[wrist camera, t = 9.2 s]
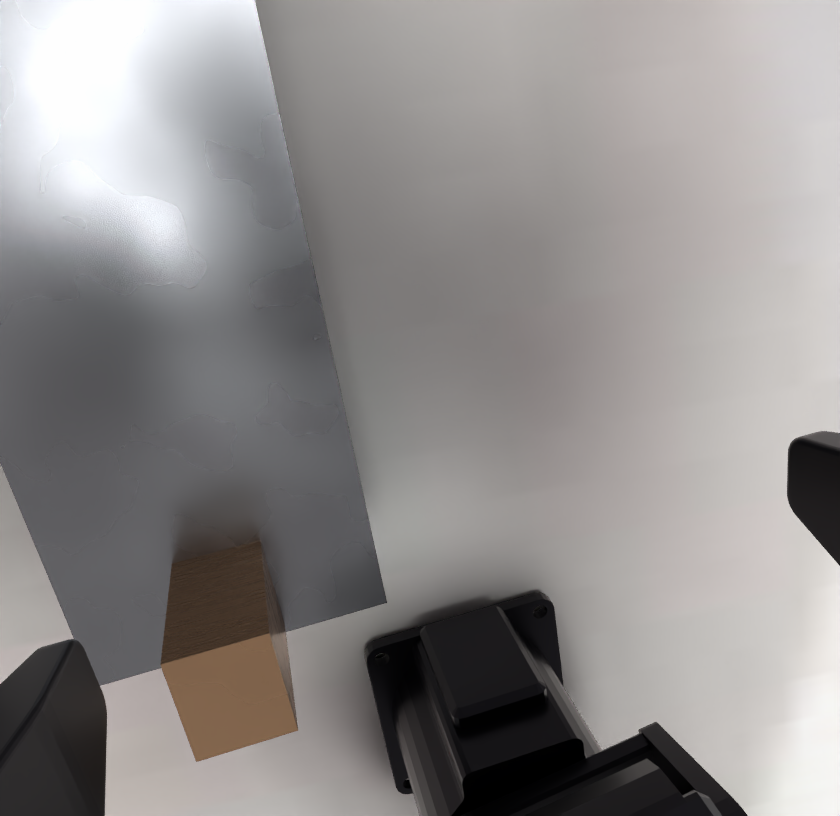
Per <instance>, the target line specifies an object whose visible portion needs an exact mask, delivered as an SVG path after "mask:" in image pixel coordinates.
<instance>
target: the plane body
mask: <svg viewBox="0 0 840 816" xmlns="http://www.w3.org/2000/svg"><path fill="white" fill-rule="evenodd" d="M0 463H1V465H2V467H3V470H4V472H5V475H6V477H7V479H8V482H9V484H10V487H11V489H12V491H13V494H14V496H15V499H16V501H17V503H18V506H19V508H20V510H21V513H22V515H23V518H24V520H25V522H26V525H27V527H28V530H29V532H30V534H31V537H32V539H33V542H34V544H35V546H36V549H37V551H38V553H39V556H40V558H41V561H42V563H43V565H44V568H45V570H46V573H47V575H48V577H49V580H50V582H51V584H52V587H53V589H54V592H55V594H56V596H57V599H58V601H59V604H60V606H61V608H62V611H63V613H64V616H65V618H66V620H67V623H68V625H69V627H70V630H71V632H72V635H73V637H74V639H75V640H77V641H79V642H80V643H81V645H82V646H83V647H84V649H85V652H86V654H87V656H88V659H89V661H90V664H91V666H92V668H93V671H94V673H95V676H96V678H97V681H98V683H99V685H104V684H107V683H111V682H114V681H118V680H121V679H125V678H128V677H131V676H135V675H138V674H142V673H145V672H149V671H152V670H156V669H159V668H162V670H163V673H164V676H165V679H166V681H167V684H168V687H169V689H170V692H171V695H172V697H173V700H174V703H175V706H176V708H177V711H178V714H179V716H180V719H181V722H182V724H183V727H184V730H185V732H186V735H187V738H188V741H189V743H190V746H191V749H192V751H193V754H194V757H195V759H196V762H198V761H201V760H204V759H208V758H211V757H214V756H217V755H220V754H224V753H227V752H230V751H233V750H237V749H240V748H243V747H246V746H249V745H253V744H256V743H259V742H262V741H266V740H269V739H272V738H275V737H278V736H282V735H285V734H288V733H291V732H294V731H298V726H297V718H296V710H295V702H294V694H293V686H292V678H291V671H290V663H289V655H288V647H287V639H286V632H287V631H291V630H294V629H298V628H301V627H305V626H308V625H312V624H315V623H318V622H322V621H325V620H329V619H332V618H336V617H339V616H343V615H346V614H350V613H353V612H357V611H360V610H363V609H367V608H370V607H374V606H377V605H381V604H384V603H387V601H386V596H385V592H384V587H383V582H382V578H381V573H380V569H379V564H378V560H377V555H376V551H375V546H374V541H373V537H372V532H371V528H370V523H369V519H368V514H367V509H366V505H365V500H364V496H363V491H362V487H361V482H360V478H359V473H358V468H357V464H356V459H355V455H354V450H353V446H352V441H351V437H350V432H349V427H348V423H347V418H346V414H345V409H344V405H343V400H342V396H341V391H340V386H339V382H338V377H337V373H336V368H335V364H334V359H333V355H332V350H331V345H330V341H329V336H328V332H327V327H326V323H325V318H324V314H323V309H322V304H321V300H320V295H319V291H318V286H317V282H316V277H315V273H314V268H313V263H312V259H311V254H310V250H309V245H308V241H307V236H306V232H305V227H304V222H303V218H302V213H301V209H300V204H299V200H298V195H297V190H296V186H295V181H294V177H293V172H292V168H291V163H290V159H289V154H288V149H287V145H286V140H285V136H284V131H283V127H282V122H281V118H280V113H279V108H278V104H277V99H276V95H275V90H274V86H273V81H272V77H271V72H270V67H269V63H268V58H267V54H266V49H265V45H264V40H263V36H262V31H261V26H260V22H259V17H258V13H257V8H256V4H255V0H0Z"/></svg>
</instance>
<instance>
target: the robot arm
mask: <svg viewBox="0 0 840 816" xmlns="http://www.w3.org/2000/svg"><path fill="white" fill-rule="evenodd" d="M787 497H788V501H789V504H790V507H791V509H792V510H793V512H794V513H795V515H796V516H797V517H798V518H799V519H800V521H801V522H802V523H803V524H804V525H805V526H806V527H807V529H808V530H809V531H810V532H811V533H812V534H813V536H814V537H815V538H816V539H817V540H818V541H819V542H820V544H821V545H822V546H823V547H824V548H825V549H826V550H827V552H828V553H829V554H830V555H831V556H832V557H833V558H834V560H835V561H836V562H837V563H838V564H839V565H840V433H835V432H827V431H821V432H815V433H812V434H808V435H805V436H801V437H798V438H796V439H794V440H793V441H792V442H791V443H790V446H789V449H788V476H787ZM538 606H542V608H541V609H540V610H538V611H535V612H533V611H534V609H535V608H536V607H538ZM380 653H385V654H386V655H385V656H384V657H382V658H375V657H376V655H378V654H380ZM365 660H366V664H367V669H368V673H369V677H370V681H371V685H372V689H373V693H374V698H375V702H376V706H377V710H378V714H379V718H380V722H381V727H382V731H383V735H384V739H385V743H386V747H387V752H388V756H389V760H390V764H391V768H392V772H393V776H394V780H395V784H396V788H397V790H398V791H399V792H401V793H402V794H411V793H413V794H414V797H415V801H416V804H417V808H418V811H419V815H420V816H747V814H746V813H745V812H744V810H743V809H742V808H741V807H740V806H739V804H738V803H737V802H736V801H735V800H734V799H733V798H732V797H731V796H730V795H729V794H728V793H727V792H726V791H725V790H724V789H723V788H722V787H721V786H720V785H719V784H718V783H717V782H716V781H715V780H714V779H713V778H712V777H711V776H710V775H709V774H708V773H707V772H706V771H705V770H704V769H703V768H702V767H701V766H700V765H699V764H698V763H697V762H696V761H695V760H694V759H693V758H692V757H691V756H690V755H689V754H688V753H687V752H686V751H685V750H684V749H683V748H682V747H681V746H680V745H679V744H678V743H677V742H676V741H675V740H674V739H673V738H672V737H671V736H670V735H669V734H668V733H667V732H666V731H665V730H664V729H663V728H662V727H661V726H660V725H659V724H658V723H657V722H654V723H652V724H650V725H648V726H646V727H643V728H641V729H639V734H637V735H635V736H633V737H631V738H629V739H626V740H624V741H622V742H620V743H618V744H615V745H613V746H611V747H609V748H607V749H605V750H601V748H600V746H599V745H598V743H597V741H596V740H595V738H594V736H593V735H592V733H591V732H590V730H589V728H588V727H587V725H586V723H585V722H584V720H583V718H582V717H581V715H580V713H579V712H578V710H577V709H576V707H575V705H574V704H573V702H572V700H571V699H570V697H569V695H568V694H567V692H566V690H565V689H564V687H563V679H562V670H561V662H560V654H559V645H558V637H557V628H556V620H555V611H554V606H553V604H552V602H551V601H550V599H549V598H548V597H547V596H546V595H545V594H543V593H533V594H530V595H526V596H523V597H519V598H516V599H513V600H509V601H506V602H503V603H499V604H496V605H492V606H489V607H486V608H482V609H479V610H475V611H472V612H469V613H465V614H462V615H459V616H455V617H452V618H448V619H445V620H442V621H438V622H435V623H432V624H428V625H425V626H422V627H418V628H415V629H411V630H408V631H405V632H401V633H398V634H395V635H391V636H388V637H384V638H381V639H378V640H375V641H373V642H371V643H370V644H369V645H368V646H367V647H366V649H365ZM106 737H107V710H106V703H105V699H104V695H103V693H102V690H101V688H100V685H99V683H98V681H97V678H96V676H95V673H94V671H93V668H92V666H91V664H90V661H89V659H88V656H87V654H86V652H85V649H84V647H83V646H82V645H81V643H80V642H79V641H77V640H74V639H71V640H66V641H62V642H59V643H55V644H52V645H48V646H44V647H41V648H39V649H37V650H36V651H35V652H34V653H33V654H32V655H31V656H30V657H29V658H28V659H27V660H25V661H24V662H23V663H22V664H21V665H20V666H19V667H18V668H17V669H16V670H15V671H14V672H13V673H12V674H11V675H10V676H9V677H8V678H7V679H5V680H4V681H3V682H2V683H1V684H0V816H105V781H106ZM407 778H409V780H406V779H407Z"/></svg>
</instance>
